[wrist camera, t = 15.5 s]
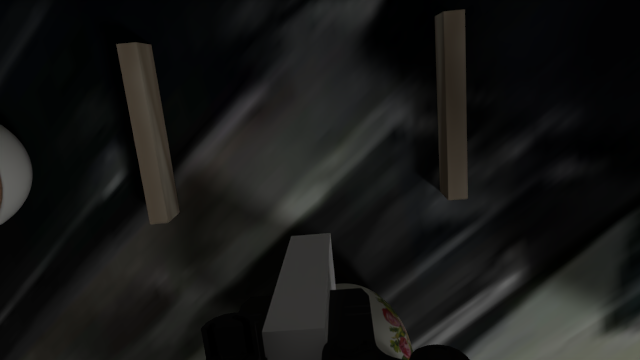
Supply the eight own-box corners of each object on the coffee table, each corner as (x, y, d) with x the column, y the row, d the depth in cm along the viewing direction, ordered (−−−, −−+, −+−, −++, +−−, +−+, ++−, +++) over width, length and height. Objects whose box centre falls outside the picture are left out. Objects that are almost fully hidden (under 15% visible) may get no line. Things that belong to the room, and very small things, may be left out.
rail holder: (454, 14, 36) (464, 9, 34) (457, 189, 40) (467, 198, 37) (132, 46, 38) (116, 44, 35) (163, 213, 41) (150, 224, 38)
